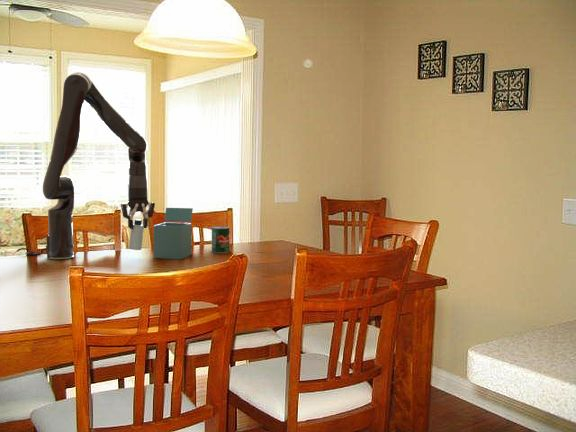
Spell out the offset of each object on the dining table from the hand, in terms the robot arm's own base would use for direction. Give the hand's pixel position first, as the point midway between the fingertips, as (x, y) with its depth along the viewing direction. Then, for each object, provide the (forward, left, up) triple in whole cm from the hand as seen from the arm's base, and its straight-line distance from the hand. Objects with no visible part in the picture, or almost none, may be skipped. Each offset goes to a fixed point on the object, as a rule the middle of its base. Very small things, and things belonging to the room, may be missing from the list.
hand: (138, 228), depth 244 cm
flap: (+11, +16, +4) cm, 20 cm away
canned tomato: (+27, +25, -13) cm, 39 cm away
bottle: (-1, 0, -9) cm, 9 cm away
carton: (+11, +9, -13) cm, 19 cm away
